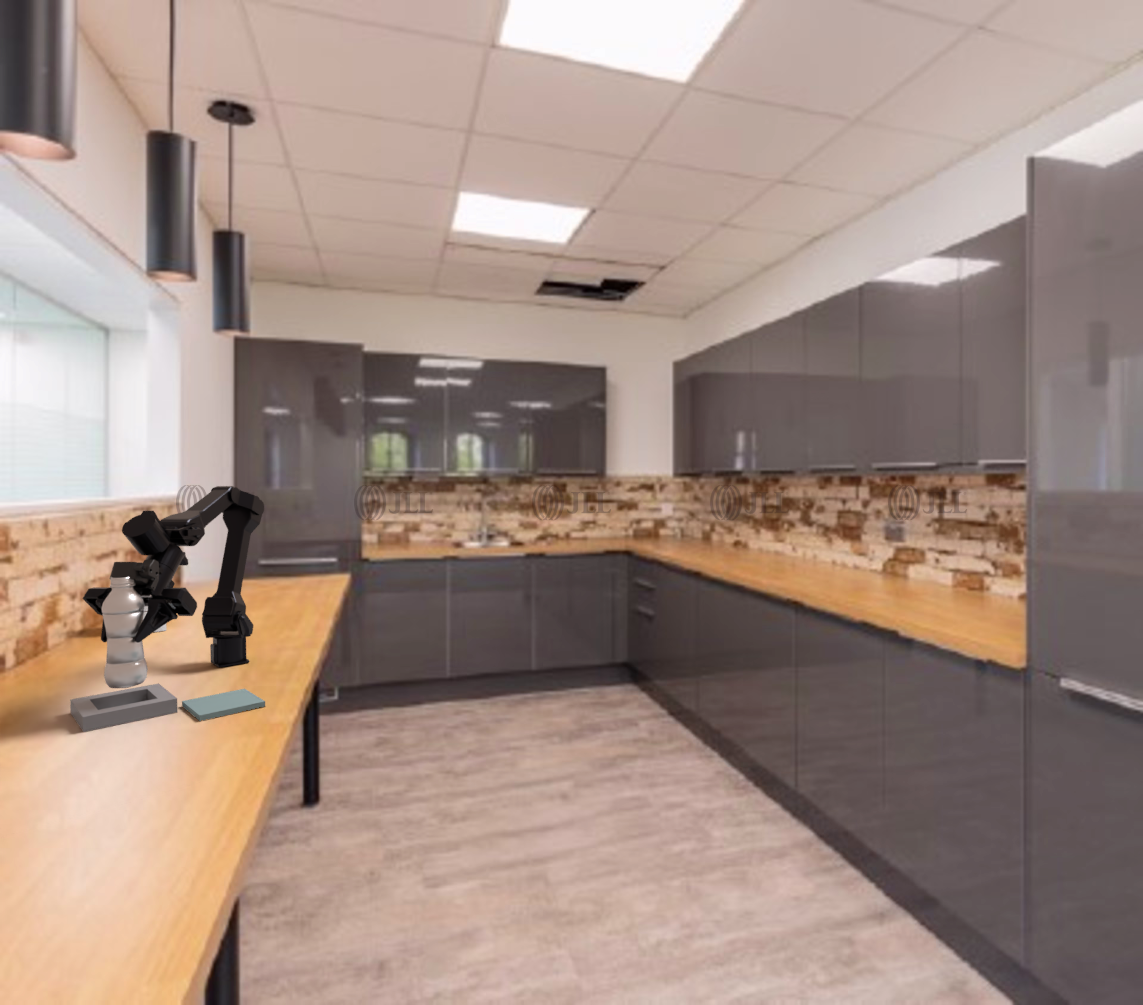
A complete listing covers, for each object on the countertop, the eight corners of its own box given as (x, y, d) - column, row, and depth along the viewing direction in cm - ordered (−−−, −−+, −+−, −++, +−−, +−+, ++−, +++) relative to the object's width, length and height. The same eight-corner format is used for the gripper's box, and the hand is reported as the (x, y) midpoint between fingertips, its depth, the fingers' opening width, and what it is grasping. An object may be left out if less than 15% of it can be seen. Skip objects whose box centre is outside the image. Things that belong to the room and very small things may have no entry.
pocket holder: (159, 696, 134) (158, 683, 134) (177, 712, 125) (177, 698, 125) (70, 713, 124) (70, 699, 124) (83, 731, 115) (82, 717, 115)
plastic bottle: (156, 683, 127) (153, 574, 126) (122, 694, 120) (118, 579, 119) (130, 679, 129) (127, 572, 128) (95, 690, 122) (91, 578, 122)
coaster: (244, 693, 135) (244, 688, 135) (265, 706, 127) (265, 701, 127) (182, 706, 128) (181, 701, 128) (199, 721, 120) (199, 715, 120)
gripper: (88, 544, 128) (41, 615, 117) (186, 544, 127) (148, 616, 116) (119, 580, 136) (79, 650, 126) (212, 580, 135) (178, 650, 125)
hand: (119, 641), depth 123 cm, fingers closed on plastic bottle, 6 cm apart
